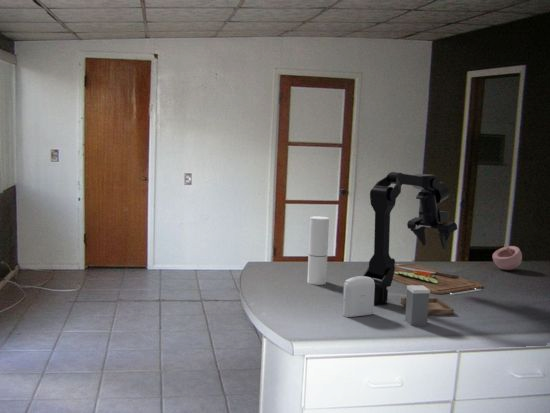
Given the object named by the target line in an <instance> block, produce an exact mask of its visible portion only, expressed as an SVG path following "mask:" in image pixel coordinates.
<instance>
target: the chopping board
mask: <svg viewBox="0 0 550 413" xmlns="http://www.w3.org/2000/svg"><path fill="white" fill-rule="evenodd" d="M392 281H393V282H397V283H400V284H403V285H406V286H407V285H423V286H425V287H426V288H428V289H429V290H430V293H429V294H432V295H445V294H449V295H450V296H454V295H462V294H466V293H468V294H469V293H473V292H480V291H482V288H483V285H482V283H479V282H476V281H473V280H469V279H466V278H462V277H460V276H459V275H456V274H451V273H447V272H442V271H439V270H436V269H432V268H429V267H426V266H422V265H419V264H414V263H401V264H400V263H395V271H394V276H393V279H392Z"/></svg>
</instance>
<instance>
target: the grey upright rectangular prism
mask: <svg viewBox="0 0 550 413" xmlns="http://www.w3.org/2000/svg"><path fill="white" fill-rule="evenodd" d="M430 294H431V293H430V290H429V289H428V288H426V287H425V286H423V285H406V298H407V299H406V307H405V317H404V318H405V319H404V320H405V322H406V323H407V324H409V325H410V326H414V327H416V326H420V327H421V326H428V316H429V315H428V304H429V298H430Z"/></svg>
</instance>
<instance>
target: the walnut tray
mask: <svg viewBox="0 0 550 413" xmlns="http://www.w3.org/2000/svg"><path fill="white" fill-rule="evenodd" d="M406 299H407V297H401V298H400V304H401V305H403V307H405V308H406ZM454 310H455V309H454V308H453V307H451V306H449V305H448V304H447V303H445V302H443V301H442V300H441V299H439V298H438V297H429V304H428V316H453V315H454Z"/></svg>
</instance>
